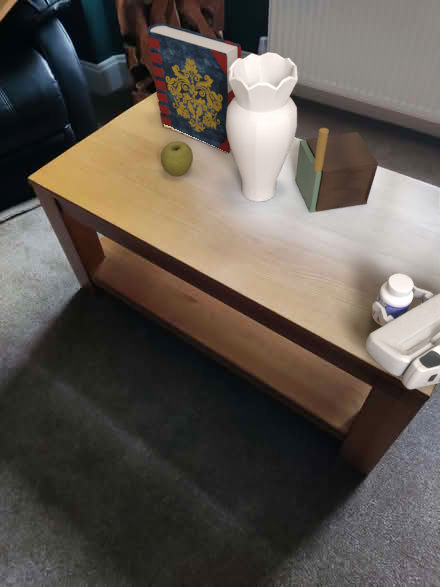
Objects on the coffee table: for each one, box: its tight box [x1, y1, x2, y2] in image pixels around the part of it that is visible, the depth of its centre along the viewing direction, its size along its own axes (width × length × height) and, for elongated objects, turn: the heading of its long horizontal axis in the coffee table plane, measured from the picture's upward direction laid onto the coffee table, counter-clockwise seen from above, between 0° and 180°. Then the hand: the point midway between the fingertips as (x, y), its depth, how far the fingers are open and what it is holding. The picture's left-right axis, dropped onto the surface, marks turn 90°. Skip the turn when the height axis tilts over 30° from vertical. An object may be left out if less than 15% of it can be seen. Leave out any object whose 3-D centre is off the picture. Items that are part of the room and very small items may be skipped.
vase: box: [226, 51, 299, 203], centre depth 92 cm, size 15×15×29 cm
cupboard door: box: [294, 127, 330, 213], centre depth 93 cm, size 2×12×20 cm, turn 10°
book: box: [146, 22, 242, 154], centre depth 109 cm, size 25×7×25 cm, turn 53°
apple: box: [160, 141, 194, 177], centre depth 106 cm, size 8×8×7 cm
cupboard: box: [305, 131, 379, 212], centre depth 97 cm, size 12×12×11 cm
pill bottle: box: [371, 273, 414, 326], centre depth 74 cm, size 5×5×10 cm
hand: (390, 294), depth 74 cm, fingers closed on pill bottle, 5 cm apart
